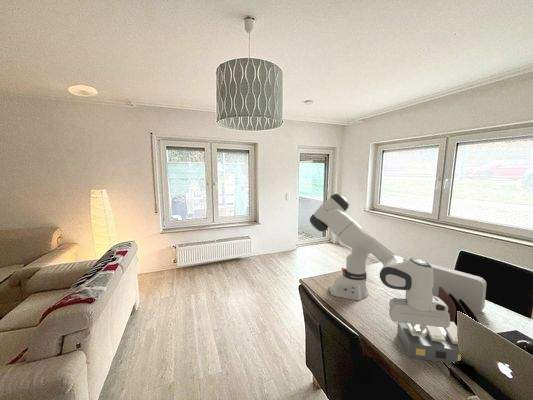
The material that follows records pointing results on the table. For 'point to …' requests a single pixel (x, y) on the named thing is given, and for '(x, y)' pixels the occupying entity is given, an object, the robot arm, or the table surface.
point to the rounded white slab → (460, 286)
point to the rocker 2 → (435, 333)
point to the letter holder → (455, 306)
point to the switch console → (428, 346)
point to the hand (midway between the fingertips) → (417, 333)
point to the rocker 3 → (452, 332)
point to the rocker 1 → (412, 330)
